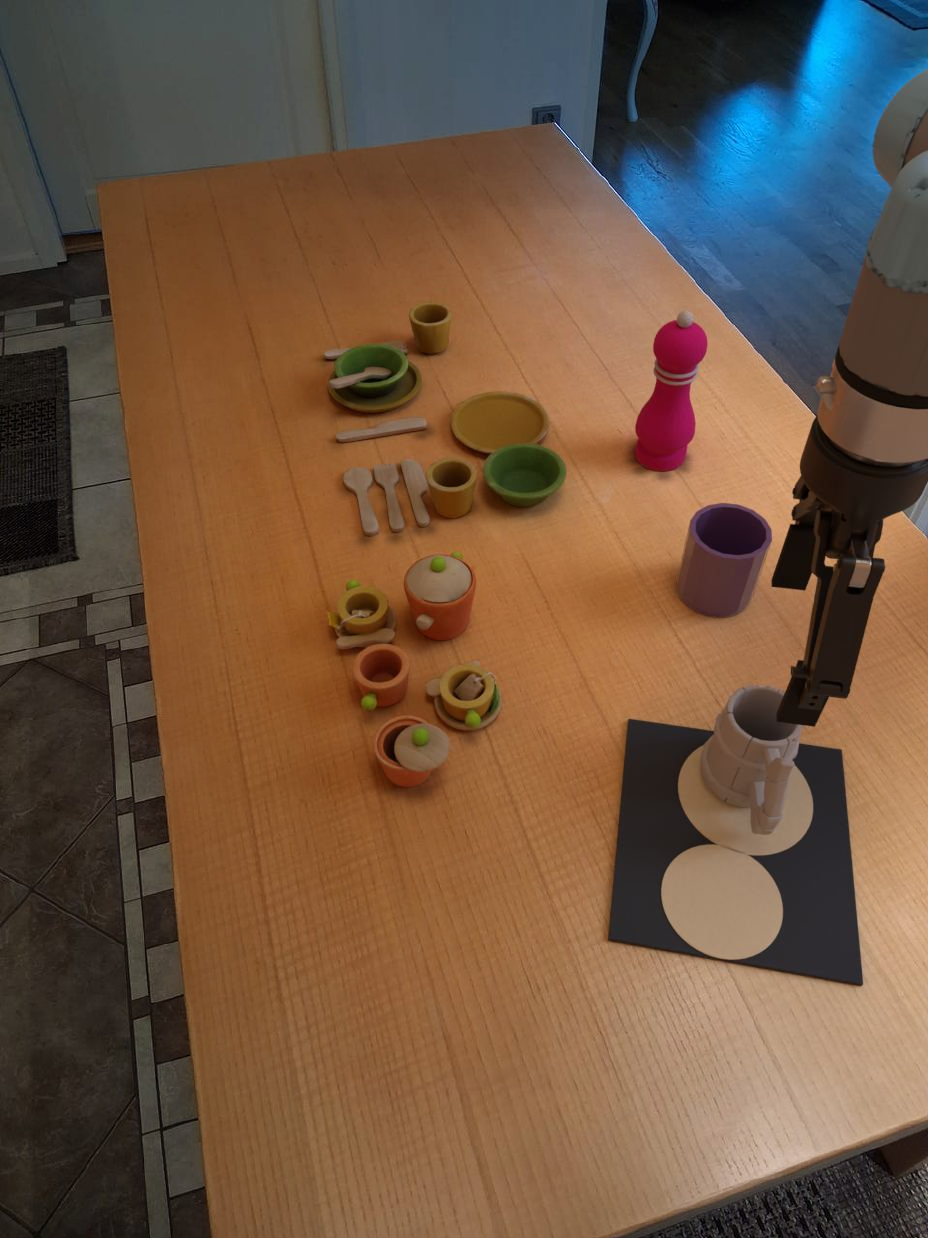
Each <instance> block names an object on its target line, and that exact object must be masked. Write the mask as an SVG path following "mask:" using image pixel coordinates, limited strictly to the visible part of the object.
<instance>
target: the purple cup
mask: <svg viewBox="0 0 928 1238" xmlns="http://www.w3.org/2000/svg"><path fill="white" fill-rule="evenodd" d="M772 542H773V531H772V528H771V526H770V525H769V523H768V521H767V520H766V519H765V517H763V516H762V515H761V514H759V513H758V512H757V511H755V510H754V509H751V508H750V507H746V506H743V505H741V504H737V503H729V502H719V503H714V504H708V505H706V506H704V507H702V508H700V509H698V510H696V511H695V513H694V514H693V516H692V517H691V519H690V520H689V524H688V528H687V533H686V537H685V541H684V546H683V549H682V550H683V551H682V555H681V559H680V563H679V568H678V571H677V572H678V573H677V577H676V578H677V579H676V583H675V584H676V585H675V586H676V587H675V588H676V592H677V594H678V597H679V598H680V600H681V601H682V602H683V604H685V606H687V607H688V608H689V609H691V610H692V611H694V612H695V613H698V614H701V615H703V616H707V617H712V618H729V617H734V616H737V615H738V614H741V613H742V612H744V611H745V610H746V609H747V608H748V607H749V606H750V604H751V602H752V601H753V598H754V595H755V592H756V591H757V587H758V584H759V582H760V578H761V575H762V573H763V570H764V566H765V563H766V560H767V557H768V554H769V552H770V548H771V546H772Z"/></svg>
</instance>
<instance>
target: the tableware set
mask: <svg viewBox="0 0 928 1238" xmlns="http://www.w3.org/2000/svg"><path fill="white" fill-rule="evenodd" d="M408 318H409V322H410V326H411V330H412V334H413V339H414V342H415V346H416V348H417V349H418V351H420V352H422V353H424V354H430V355H432V354H433V355H434V354H438V353H442V352H443V351H445V350H446V349H447V347H448V346H449V338H450V329H451V322H452V310H451V308H450V307H448V305H446V304H443V303H441V302H435V301H424V302H420V303H417V304H415V305H413V306H412V307H411V308H410V310H409V312H408ZM407 349H408V348H407V344H406V342H405V341H385V342H384V341H383V342H382V343H368V344H367V343H366V344H360V345H357V346H354V347H346V348H334V349H328V350H326V351H325V352H323V355H322V356H323V359H325V360H326V359H331V360H334V365H333V371H332V372H331V374H329V375H330V376H329V378H328V380H327V388H328V391H329V393H330V395H331V396H332V398H334V400H335V401H337V402H338V403H339V404H341V405H342V406H344V407H346V408H348V409H351V410H352V411H356V412H360V413H368V414H372V413H373V414H376V413H383V412H388V411H389V412H390V411H392V410H395V409H397V408H399V407H402V406H403V405H404V404H407V402H409V401H411V399H413V397H415V395H416V394H417V393H418V392H419V390H420V388H421V386H422V382H423V377H422V373H421V371H420V369H419V367H418V366H417V365H415V363H414V362H412V361H411V360H409V359H408V357H407V355H406V354H408V353H409V351H408V350H407ZM427 423H428V422H427V421H426V419H425V418H424V417H421V416H420V417H419V416H416V417H405V418H400V419H399V418H398V419H394V420H393V419H392V420H388V421H381V422H378V424H377V425H376V426H375V427H373V428H365V429H364V428H363V429H354V430H347V431H340V432H337V433H336V435H335V438H336V441H337V442H339V443H349V442H355V441H361V440H368V439H374V438H380V437H386V436H387V437H388V436H392V435H398V434H403V433H404V434H405V433H410V432H411V433H412V432H417V431H422V430H426V429H427V428H428V424H427ZM450 428H451V431H452V433H453V435H454V436H455V437H456V439H458V440H459V441H460V443H462V444H463V445H464V446H466V447H467V448H470V449H472V450H474V451H476V452H479V453H482V454H486V455H488V456H487V458H486V459H485V461H484V462H483V465H482V476H483V479H484V481H485V483H486V484H487V486H488V487H489V488H490V489H491V490H492V491H493V492H494V493H496V494H497V495H498V496H500V498H501V499H502V500H503V501H504V502H506V503H508V504H510V505H512V506H516V507H523V508H525V507H526V508H527V507H534V506H536V505H539V504H541V503H542V502H544V501H545V500H546V499H548V497H550V496H551V495H553V494H554V493H556V491H558V490H559V489H560V488H561V487H562V485H563V484H564V483H565V480H566V477H567V465H566V463H565V461H564V459H563V458H562V457H561V456H560V455H559V454H558V453H557V452H556V451H554V450H552V449H550V448H548V447H546V446H544V445H540V444H538V443H539V442H540V441H541V440H542V439H544V438H545V435H546V434H547V433H548V431H549V428H550V417H549V413H548V412H547V410H546V409H545V407H544V406H543V405H542V404H541V403H539V401H537V400H535V399H533V398H532V397H531V396H528V395H526V394H522V393H518V392H512V391H506V390H505V391H504V390H500V391H499V390H498V391H487V392H483V393H479V394H476V395H473V396H471V397H469V398H467V399H465V400H464V401H462V402H461V403H460V404H458V405H457V407H456V408H455V409H454V410H453V412H452V414H451V417H450ZM372 468H373V475H372V472H371V471H370V470H369V469H367V468H366V467H362V466H356V467H355V466H354V467H352V468H350V469H348V470H346V471H345V473H344V474H343V475H342V476H343V477H342V480H343V484H344V487H345V488H346V489H348V491H350V492H352V493H354V494H355V496H356V498H357V502H358V508H359V509H358V510H359V514H360V519H361V526H362V532H363V534H364V535H366V536H368V537H372V536H375V535H377V534H378V533H379V531H380V526H379V523H378V519H377V517H376V514H375V511H374V508H373V506H372V503H371V500H370V497H369V494H368V491H369V489H370V488H371V486H372V485H373V476H374V479H375V483H376V484H377V485H378V486H379V487H381V488H383V490H384V494H385V498H386V505H387V515H388V522H389V528H390V530H391V531H392V532H394V533H401V532H402V531H403V530H404V529H405V522H404V518H403V514H402V511H401V508H400V504H399V499H398V498H397V497H398V496H397V494H396V490H395V487H396V486H397V484H398V482H400V476H399V471H398V468H397V465H396V463H395V462H390V463H388V464H387V463H383V464H381V466H380V465H379V464H378V465H377V464H376V465H373V467H372ZM400 469H401V472H402V476H403V479H404V483H405V486H406V490H407V493H408V497H409V500H410V503H411V507H412V510H413V514H414V518H415V521H416V524H417V525H418V526H419V527H421V528H424V527H427V526H429V524H430V515H429V513H428V510H427V508H426V505H425V503H424V501H423V499H422V496H424V495H425V494H426V493H427V492H428V491H429V494H430V497H431V501H432V504H433V508H434V510H435V512H436V513H438V515H440V516H442V517H444V518H448V519H457V518H461V517H463V516H465V515H467V514H468V513H469V512H470V510H471V509H472V505H473V500H474V495H475V489H476V484H477V478H478V470H477V468H476V467H475V466H474V465H473V464H472V463H471V462H470V461H468V460H466V459H464V458H461V457H443V458H440V459H438V460H436V461H434V462H433V463H431V464H430V465H429V466H428V468H427V469H426V472H425V473H424V470H423V468H422V465H421V464H420V463H419V462H418V461H417V460H415V459H411V458H406V459H402V460H400Z"/></svg>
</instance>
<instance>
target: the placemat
mask: <svg viewBox="0 0 928 1238" xmlns="http://www.w3.org/2000/svg"><path fill="white" fill-rule="evenodd" d="M713 735H714V730H710V729H703V728H697V727H690V726H682V725H676V724H668V723H663V722H662V723H661V722H655V721H648V720H642V719H641V720H640V719H634V718H627V728H626V740H625V749H624V750H625V751H624V761H623V773H622V783H621V795H620V806H619V817H618V818H619V819H618V826H617V827H618V828H617V838H616V851H615V861H614V870H613V871H614V873H613V883H612V884H613V885H612V893H611V903H610V904H611V906H610V916H609V927H608V937H607V938H608V939H607V940H608V941H610V942H615V943H621V944H626V945H631V946H632V945H633V946H639V947H644V948H649V949H654V950H660V951H666V952H671V953H676V954H682V955H688V956H692V957H693V956H694V957H699V958H705V959H710V960H715V961H721V962H726V963H732V964H738V965H743V966H747V967H748V966H750V967H754V968H760V969H765V970H772V971H777V972H783V973H789V974H793V975H798V976H799V975H800V976H805V977H810V978H815V979H821V980H827V981H833V982H837V983H843V984H848V985H855V986H860V987H863V985H864V977H863V965H862V956H861V944H860V932H859V924H858V923H859V922H858V910H857V901H856V889H855V880H854V879H855V878H854V868H853V858H852V846H851V835H850V824H849V811H848V802H847V792H846V790H847V789H846V781H845V779H846V778H845V770H844V769H845V768H844V758H843V749H841V748H835V747H827V746H821V745H813V744H807V743H800V742H799V746H798V753H797V755H796V757H795V758H793V760H792V761H794V764H795V765H794V767H793V768H792V770H791V773H790V776H789V779H788V782H789V783H788V789H787V794H786V800H785V802H784V807H783V810H782V815H783V816H782V819H781V821H780V822H779V824H778V825H777V826H776V828H775V830H774V831H773V832H772V833H771V834H768V835H761V834H754V833H753V832H752V829H751V823H750V818H751V812H750V808H744V807H738V806H734V805H731V804H728V803H726V800H725V801H723V800H721V799H720V798H718V797H717V796H716V795H715V794H714V793H713V792H712V791H711V789H710V788H709V787H708V786H707V784H706V783H705V781H704V778H703V775H702V772H703V771H702V765H701V755H702V751H703V748H704V744H705V743H706V742H707V741H708V740H709V738H710V737H711V736H713Z"/></svg>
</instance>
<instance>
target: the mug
mask: <svg viewBox="0 0 928 1238" xmlns="http://www.w3.org/2000/svg"><path fill="white" fill-rule="evenodd" d="M784 694H785V691H784V690H782V689H781V688H777V687H773V686H770V685H764V686H760V685H758V684H749V685H745V686H742V687H739V688H737V689H736V690H735V691H733V693H732V694H731V695H730V696H729V698H728V699H727V702H726V704H725V707H723V709H722V710H721V711H720V712H719V713H718V714H717V715H716V717H715V721H714V728H713V731H714V735H713V736H711V737H710V738H709V740H708V741H707V742H706V743H705V744H704V748H703V751H702V755H701V765H702V771H703V772H702V775H703V778H704V781H705V783H706V784H707V786H708V787H709V788H710V789H711V791H712V792H713V793H714V794H715V795H716V796H717V797H718V798H720V799H721V800H723V801H725V800H726V803H728V804H731V805H734V806H738V807H744V808H750V812H751V818H750V823H751V829H752V832H753V833H754V834H761V835H768V834H771V833H772V832H773V831H774V830H775V828H776V826H777V825H778V824H779V822H780V821H781V819H782V816H783V815H782V810H783V807H784V802H785V800H786V794H787V789H788V783H789V782H788V779H789V776H790V773H791V770H792V768H793V767H794V765H795V764H794V761H792V760H793V758H795V757H796V755H797V753H798V746H799V743H800V736H801V733H802V731H803V728H804V725H797V724H789V723H782V722H777V718H776V713H777V711H778V708H779V706H780V703H781V701H782V698H783V696H784Z"/></svg>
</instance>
